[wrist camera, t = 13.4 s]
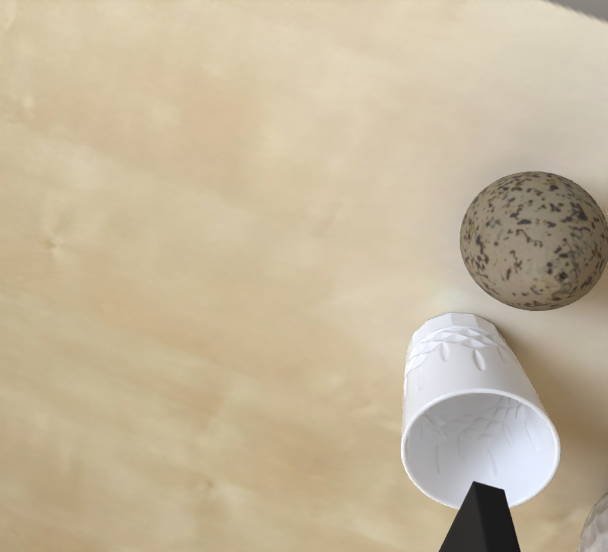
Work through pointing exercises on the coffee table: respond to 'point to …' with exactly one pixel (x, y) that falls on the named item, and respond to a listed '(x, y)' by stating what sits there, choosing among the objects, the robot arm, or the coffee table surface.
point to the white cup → (472, 415)
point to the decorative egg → (534, 241)
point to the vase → (595, 529)
